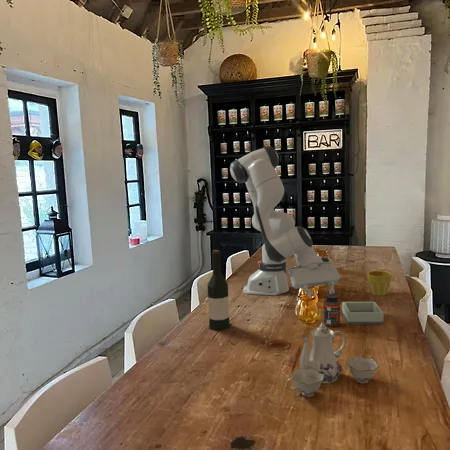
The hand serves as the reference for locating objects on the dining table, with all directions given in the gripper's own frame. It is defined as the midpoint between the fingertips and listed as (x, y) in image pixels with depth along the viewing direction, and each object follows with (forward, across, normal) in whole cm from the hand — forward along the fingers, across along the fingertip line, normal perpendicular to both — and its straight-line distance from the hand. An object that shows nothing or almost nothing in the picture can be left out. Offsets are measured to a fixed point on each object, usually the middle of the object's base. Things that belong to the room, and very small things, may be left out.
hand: (322, 294), depth 165 cm
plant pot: (-6, +42, +20) cm, 47 cm away
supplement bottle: (+11, +1, +4) cm, 12 cm away
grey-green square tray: (+10, +15, +4) cm, 19 cm away
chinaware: (+37, -23, -21) cm, 49 cm away
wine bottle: (0, -39, +16) cm, 42 cm away
